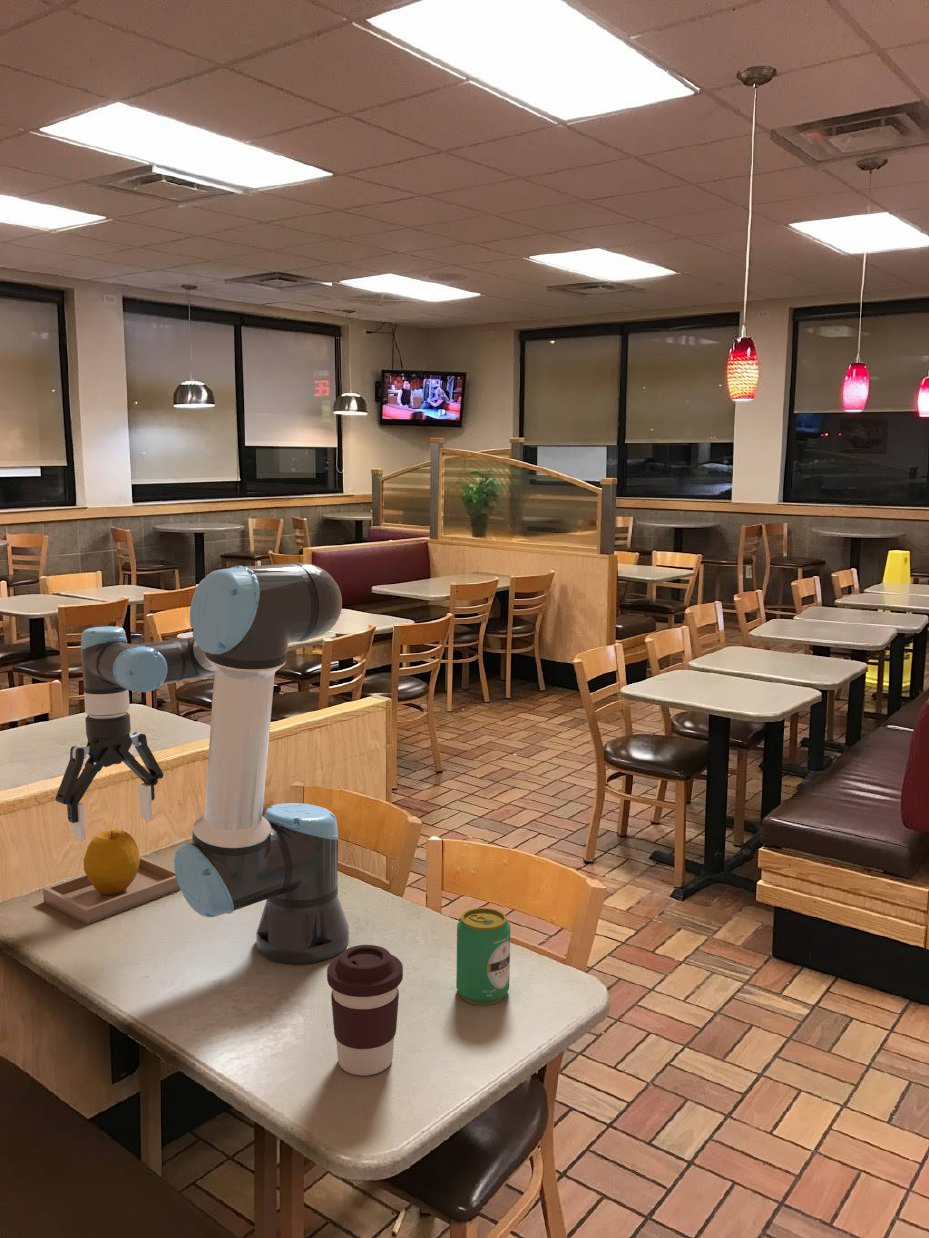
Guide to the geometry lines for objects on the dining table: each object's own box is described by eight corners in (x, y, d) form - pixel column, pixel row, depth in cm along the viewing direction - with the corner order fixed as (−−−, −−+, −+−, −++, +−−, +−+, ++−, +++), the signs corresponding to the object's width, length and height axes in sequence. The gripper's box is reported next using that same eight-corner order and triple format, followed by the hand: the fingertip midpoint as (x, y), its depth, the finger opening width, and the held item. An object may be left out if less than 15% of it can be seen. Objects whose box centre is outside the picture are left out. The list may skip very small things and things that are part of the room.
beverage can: (486, 1012, 148) (487, 934, 146) (445, 993, 153) (446, 918, 151) (519, 991, 154) (521, 916, 152) (479, 973, 159) (480, 901, 157)
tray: (140, 868, 198) (140, 855, 198) (184, 887, 189) (184, 874, 189) (43, 901, 182) (43, 888, 182) (86, 924, 174) (86, 910, 173)
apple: (107, 908, 179) (104, 844, 177) (73, 895, 184) (70, 833, 182) (152, 889, 187) (149, 828, 185) (117, 877, 192) (115, 817, 190)
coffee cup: (403, 1040, 140) (403, 938, 138) (401, 1083, 131) (401, 974, 128) (331, 1040, 140) (330, 938, 138) (324, 1084, 130) (323, 974, 128)
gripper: (155, 698, 193) (160, 806, 196) (29, 723, 173) (37, 843, 176) (179, 704, 188) (184, 814, 191) (53, 730, 169) (60, 852, 172)
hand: (113, 828), depth 184 cm, fingers open, 13 cm apart
